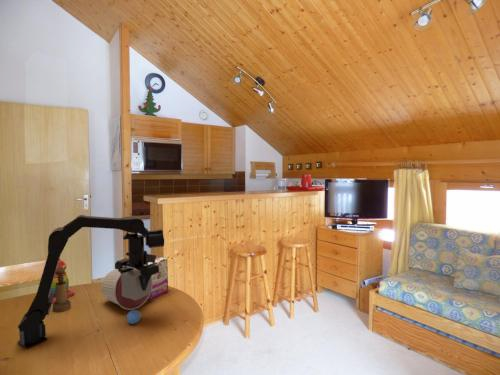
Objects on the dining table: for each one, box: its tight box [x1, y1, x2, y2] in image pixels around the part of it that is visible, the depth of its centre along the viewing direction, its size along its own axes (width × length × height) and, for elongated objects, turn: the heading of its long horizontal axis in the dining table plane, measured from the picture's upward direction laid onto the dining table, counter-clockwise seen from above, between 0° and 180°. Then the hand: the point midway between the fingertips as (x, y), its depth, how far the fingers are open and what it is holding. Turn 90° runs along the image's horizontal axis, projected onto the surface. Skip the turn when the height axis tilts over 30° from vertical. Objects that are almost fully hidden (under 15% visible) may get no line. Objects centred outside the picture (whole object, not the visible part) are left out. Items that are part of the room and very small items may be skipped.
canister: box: [101, 269, 152, 311], centre depth 134 cm, size 18×18×21 cm
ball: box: [126, 309, 142, 325], centre depth 118 cm, size 5×5×5 cm
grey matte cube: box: [121, 269, 151, 300], centre depth 119 cm, size 8×8×9 cm
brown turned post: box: [52, 267, 72, 313], centre depth 129 cm, size 7×6×18 cm
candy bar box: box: [144, 256, 169, 300], centre depth 144 cm, size 11×5×16 cm, turn 148°
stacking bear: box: [50, 258, 75, 304], centre depth 139 cm, size 11×10×18 cm
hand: (137, 288), depth 119 cm, fingers closed on grey matte cube, 8 cm apart
